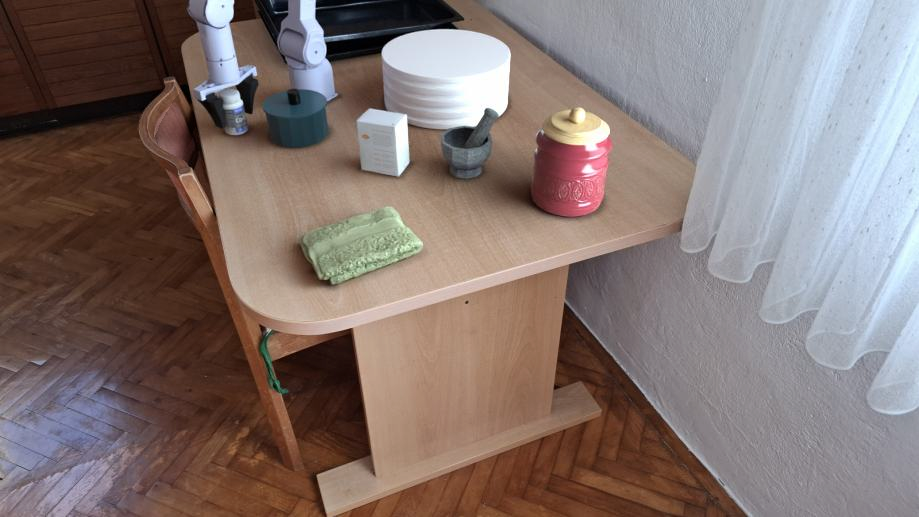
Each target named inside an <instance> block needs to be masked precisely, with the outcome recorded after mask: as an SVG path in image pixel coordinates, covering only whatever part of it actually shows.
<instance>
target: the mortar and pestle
mask: <svg viewBox="0 0 919 517" xmlns="http://www.w3.org/2000/svg"><path fill="white" fill-rule="evenodd" d="M498 116H499V114H498V113H497V112H496V111H495V110H493V109H491V108H486V109H485V110H484V115H483V116H482V118H481V120H480V121H479V123H478V124H477V126H474V127H471V126H459V127H454V128H449V129H445V131H444V132H442V133H441V134H440V147H441V149H440V150H441V154H442V157H443V159H444V160H445V162H446V163H447V164H449V173H450V174H451V175H453V176H454V177H456V178H460V179H471V178H472V179H473V178H477V177H478V176H479V175H480V174H481V173H482V165H483V164H484V163H486V162H487V160H488V159H489V157H490V156H491V153H492V149H493V139H492V138H493V137H492V134H491V132H490V131H491V129H492V127H493V125H494V123H495V121H496V120H497V119H499V117H500V116H499V117H498Z"/></svg>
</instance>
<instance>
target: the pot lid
mask: <svg viewBox="0 0 919 517" xmlns="http://www.w3.org/2000/svg"><path fill="white" fill-rule="evenodd" d="M327 106H328V101H327V99H326V97H325V96H324V95H323V94H321V93H319V92H316V91H312V90H304V89H291V88H289V89H288V90H283V91H279V92H275V93H273V94H271V95H269V96H268V97H267V98H266V99H264V100H263V102H262V104H261V107H262V111H263V112H264V114H265V115H266V114H267V115H269V116H271V117H274V118H279V119H301V118H306V117H310V116H313V115H315V114H318V113H319V112H321V111H322V110H324V109H325V107H326V108H327Z"/></svg>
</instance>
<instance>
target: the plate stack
mask: <svg viewBox="0 0 919 517" xmlns="http://www.w3.org/2000/svg"><path fill="white" fill-rule="evenodd" d="M511 56H512V55H511V49H510V48H509V46H507V45H506V44H505V42H503V41H501V40H500V39H499V38H496V37H494V36H491V35H489V34H485V33H482V32H478V31H473V30H465V29H456V28H455V29H454V28H451V29H450V28H437V29H425V30H418V31H414V32H410V33H409V32H408V33H405V34H403V35H399V36H397V37H395V38H392V39H391V40H390V41H388V42H387V43H386V44H384V45H383V48H382V50H381V62H382V64H381V67H382V82H383V98H384V100H383V101H384V107H385V109H386V111H388V112H395V113H401V114H406V115H407V125H412V126H416V127H420V128H425V129H431V130H448V129H449V128H454V127H459V126H471V127H476V126H477V124H478V123H479V121H480V120H481V118H482V116H483V115H484V110H485V109H486V108H491V109H493V110H495V111H496V112H497V113H498V114H499V116H498V118H499V117H500V116H501V115H503V114H504V113H505V111H506V109H507V108H508V105H509V104H508V103H509V90H510V89H509V84H510V71H511V70H510V69H511V63H510V62H511Z"/></svg>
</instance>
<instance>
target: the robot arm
mask: <svg viewBox="0 0 919 517" xmlns="http://www.w3.org/2000/svg"><path fill="white" fill-rule="evenodd" d="M287 1H288V4H287V6H288V7H287V8H288V9H287V14H288V15H287V16H285V18H284V19H283V20H282V21H281V23H280V32H279V34H278V36H277V40H276V41H277V42H276V45H277V49H278V51H279V53H280V54H281V55H283V56H284V59H285V60H284V61H285V62H286V65H287V70H288V78H289V84H290V89H304V90H312V91H316V92H319V93H321V94H323V95H324V96H325V97H326V99H327V102H329V101H331V100H333V99H335V98H337V97H338V96H339V93H337V92H335V90H336V89H335V80H334V73H333V67H332V64H331V63H330V61H329V60H328V59H327V58H326V55H327V44H326V42H325V38H324V34H325V32H324V29H323V28H322V26H321V25H320V24H319V22H318V20H317V19H316V2H317V0H287ZM234 4H235V0H189V1H188V7H186V10H187V13H188V15H189V16H190V17H191V19H193V20H194V21H195V22H196V26H197V29H198V33H199V37H200V41H201V47H202V50H203V54H204V59H205V62H206V66H207V71H208V75H207V76H208V78H207V79H206V80H205V81H204V82H202V83H201V84H199V85H198V86H196V87H195V88H193V89H192V91H193V95H194V99H195V100H196V101H198V102H199V103H200V104H201V106H202V107H204V109H205V110H206V112H207V114H208V115H209V116H210V118H211V119H212V122H213V123H214V126H215V127H216V128H219V129H222V130H223V129H224V128H225V121H224V116H223V99H221V98H219V96H218V95H216V93H220V92H221V91H223V90H226V89H229V88H231V87H235V89H236V90H238V91H239V94H240V99H241V100H242V101H243V104H244V109H245V114H246V115H247V114H248V115H253V114H254V102H255V98H256V97H255V96H256V93H257V89H258V87H259V85H260V83H259V80H258V79H257V78H255V77H258V72H257V71H258V70H257V67H256V66H254V65H251V64H247V65H245V66H241V67H240V66H239V65H238V59H237V54H236V49H235V44H234V39H233V35H232V34H233V33H232V30H231V26H230V22H231V21H232V20H233V18H234ZM224 130H225V129H224Z"/></svg>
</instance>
